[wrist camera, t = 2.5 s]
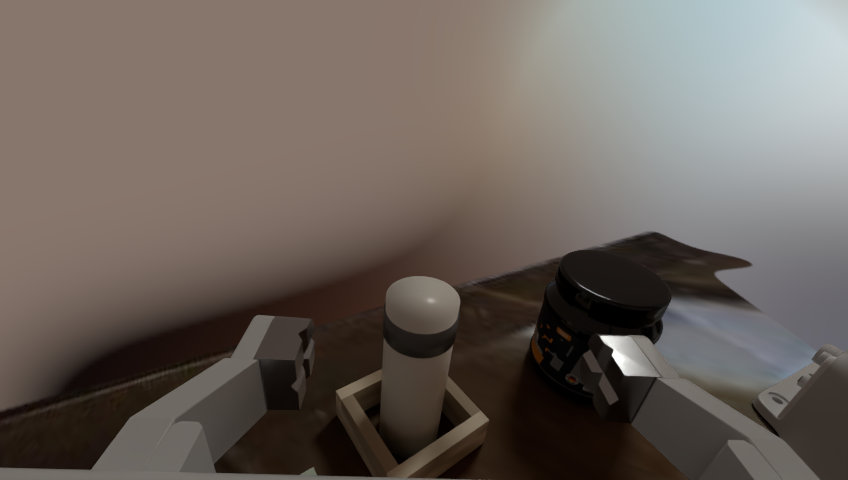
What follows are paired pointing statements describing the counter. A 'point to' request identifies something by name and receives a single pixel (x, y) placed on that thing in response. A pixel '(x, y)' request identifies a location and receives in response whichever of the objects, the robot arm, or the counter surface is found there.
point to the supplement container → (593, 314)
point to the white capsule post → (416, 361)
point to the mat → (310, 472)
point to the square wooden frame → (429, 459)
